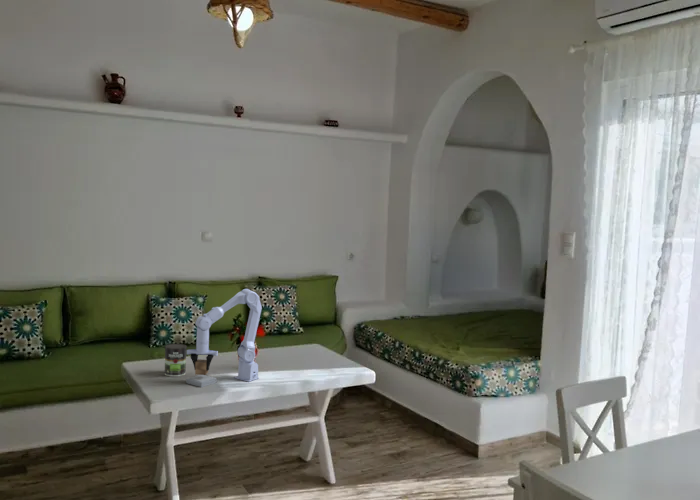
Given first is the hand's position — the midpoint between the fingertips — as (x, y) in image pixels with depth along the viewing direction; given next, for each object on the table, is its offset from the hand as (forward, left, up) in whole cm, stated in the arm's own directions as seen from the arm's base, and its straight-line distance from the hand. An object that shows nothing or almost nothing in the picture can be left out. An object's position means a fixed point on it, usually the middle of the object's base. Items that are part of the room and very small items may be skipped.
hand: (201, 369), depth 291 cm
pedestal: (0, 0, -6) cm, 6 cm away
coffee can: (+20, -2, -7) cm, 21 cm away
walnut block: (0, 0, -2) cm, 2 cm away
